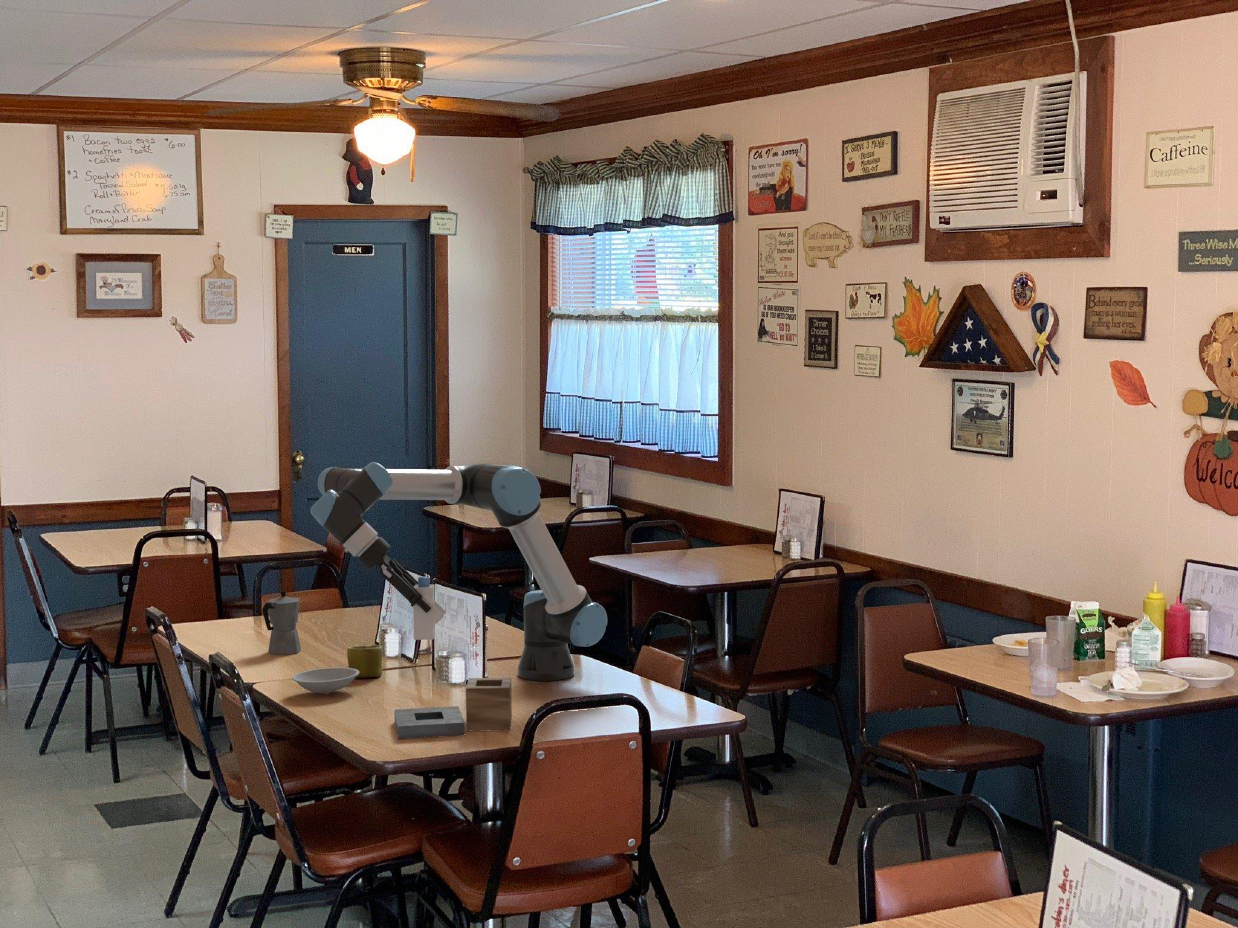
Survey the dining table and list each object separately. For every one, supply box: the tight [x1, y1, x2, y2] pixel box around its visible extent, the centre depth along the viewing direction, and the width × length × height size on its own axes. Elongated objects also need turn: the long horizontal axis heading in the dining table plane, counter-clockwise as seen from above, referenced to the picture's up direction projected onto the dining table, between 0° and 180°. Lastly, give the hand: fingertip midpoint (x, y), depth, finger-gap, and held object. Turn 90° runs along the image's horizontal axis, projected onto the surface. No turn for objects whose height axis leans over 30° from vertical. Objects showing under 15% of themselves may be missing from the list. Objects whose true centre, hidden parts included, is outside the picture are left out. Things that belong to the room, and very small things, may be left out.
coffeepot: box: [261, 590, 302, 656], centre depth 409 cm, size 15×9×18 cm, turn 153°
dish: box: [291, 667, 359, 695], centre depth 362 cm, size 18×14×5 cm
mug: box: [346, 644, 384, 679], centre depth 382 cm, size 12×10×10 cm
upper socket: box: [465, 677, 513, 732], centre depth 331 cm, size 10×10×10 cm
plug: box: [412, 576, 436, 641], centre depth 326 cm, size 4×4×14 cm
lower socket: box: [394, 705, 466, 740], centre depth 329 cm, size 15×15×3 cm
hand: (440, 617), depth 326 cm, fingers closed on plug, 4 cm apart
